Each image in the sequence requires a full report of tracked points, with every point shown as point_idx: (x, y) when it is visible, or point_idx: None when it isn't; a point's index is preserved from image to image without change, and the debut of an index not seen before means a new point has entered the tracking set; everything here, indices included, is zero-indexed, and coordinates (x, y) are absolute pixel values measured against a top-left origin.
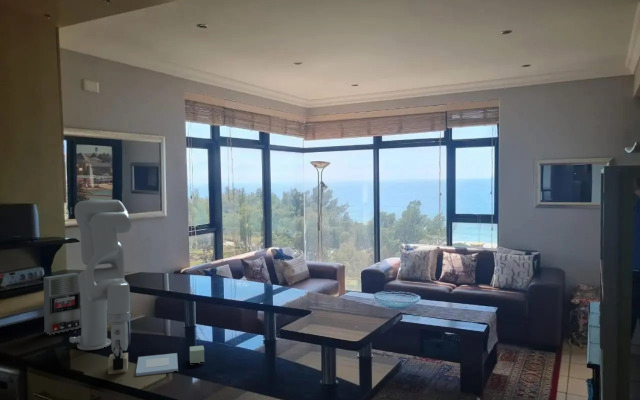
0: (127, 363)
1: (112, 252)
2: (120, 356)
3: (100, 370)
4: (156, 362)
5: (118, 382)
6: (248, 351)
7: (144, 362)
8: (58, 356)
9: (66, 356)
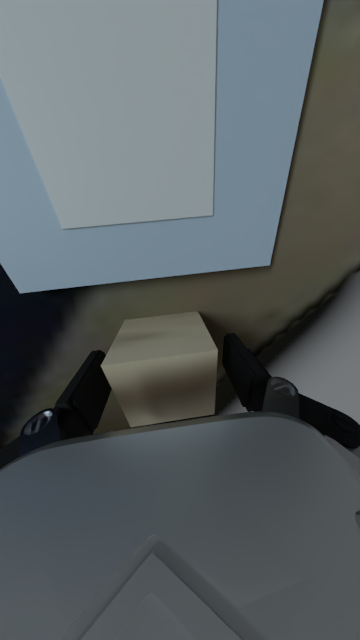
0: (160, 328)
1: None
2: (296, 398)
3: None
4: (119, 115)
5: (288, 319)
6: None
7: (114, 237)
8: None
9: None
